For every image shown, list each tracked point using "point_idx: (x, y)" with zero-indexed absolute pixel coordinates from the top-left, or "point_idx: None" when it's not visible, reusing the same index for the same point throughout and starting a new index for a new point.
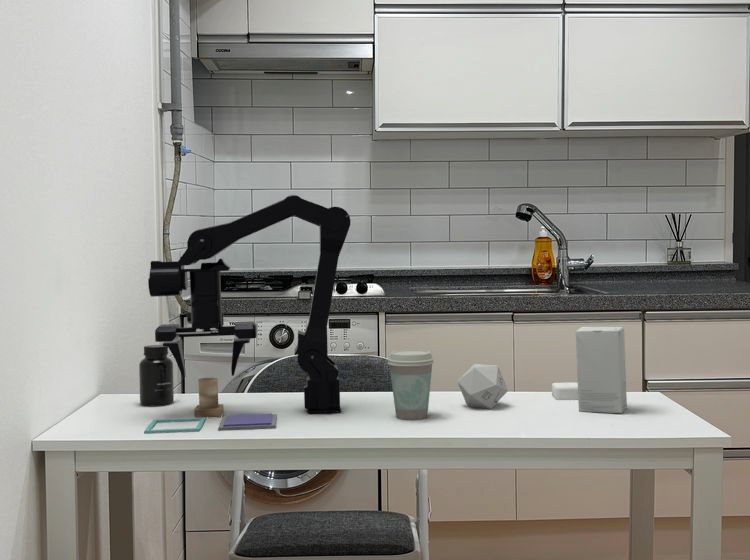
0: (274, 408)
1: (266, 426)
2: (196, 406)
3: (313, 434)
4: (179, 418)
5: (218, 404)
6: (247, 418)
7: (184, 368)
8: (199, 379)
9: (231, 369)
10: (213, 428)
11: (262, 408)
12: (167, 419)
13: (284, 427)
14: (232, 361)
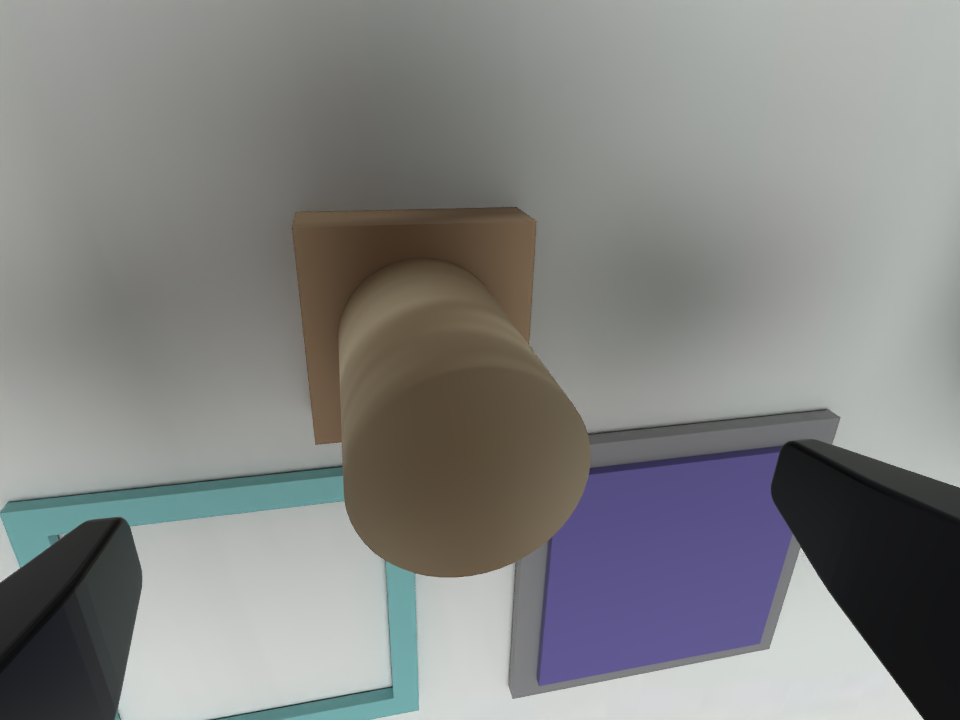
0: (886, 141)
1: (729, 653)
2: (300, 293)
3: (860, 707)
4: (218, 489)
5: (495, 233)
6: (668, 563)
7: (91, 701)
8: (357, 492)
9: (821, 579)
10: (480, 647)
11: (811, 120)
12: (129, 516)
13: (797, 621)
14: (925, 708)
